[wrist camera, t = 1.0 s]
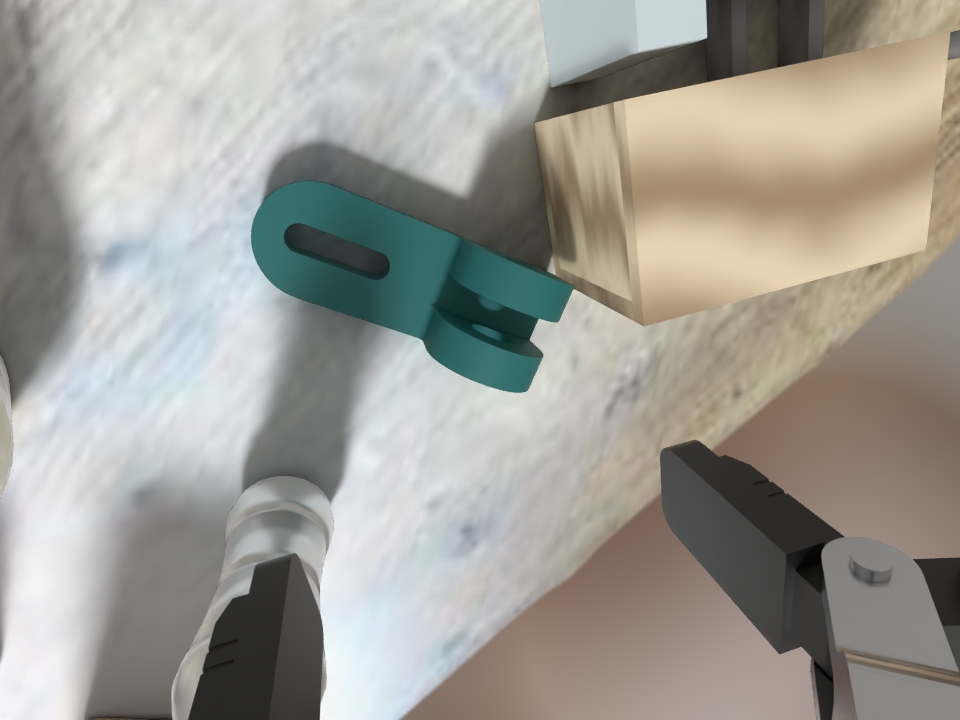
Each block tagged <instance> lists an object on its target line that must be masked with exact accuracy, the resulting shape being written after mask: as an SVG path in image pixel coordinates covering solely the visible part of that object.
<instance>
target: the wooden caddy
mask: <svg viewBox="0 0 960 720" xmlns="http://www.w3.org/2000/svg"><path fill="white" fill-rule="evenodd" d="M706 17H707V38H706V55H707V83H702V84H697V85H692V86H687V87H683V88H678V89H673V90H668V91H664V92H659V93H654V94H649V95H644V96H640V97H635V98H630V99H625V100H621V101H617V102H613V103H610V104H606V105H602V106H598V107H594V108H590V109H586V110H583V111H579V112H575V113H571V114H567V115H563V116H560V117H556V118H552V119H548V120H544V121H540V122H536V123H534V126H535V133H536V140H537V147H538V154H539V161H540V167H541V174H542V181H543V188H544V195H545V202H546V209H547V215H548V222H549V229H550V236H551V243H552V250H553V257H554V263H555V270H556V276H557V277H559V278H561V279H563V280H565V281H567V282H569V283H570V284H572V285H574V289H575V290H577V291H579V292H581V293H583V294H585V295H587V296H588V297H590V298H592V299H594V300H596V301H598V302H600V303H601V304H603V305H605V306H607V307H609V308H611V309H613V310H614V311H616V312H618V313H620V314H622V315H624V316H626V317H627V318H629V319H631V320H633V321H635V322H637V323H639V324H640V325H642V326H647V325H651V324H655V323H658V322H662V321H666V320H669V319H673V318H677V317H680V316H684V315H688V314H691V313H695V312H699V311H702V310H706V309H710V308H713V307H717V306H721V305H725V304H728V303H732V302H736V301H739V300H743V299H747V298H750V297H754V296H758V295H761V294H765V293H769V292H772V291H776V290H780V289H783V288H787V287H791V286H794V285H798V284H802V283H805V282H809V281H813V280H816V279H820V278H824V277H827V276H831V275H835V274H839V273H842V272H846V271H850V270H853V269H857V268H861V267H864V266H868V265H872V264H875V263H879V262H883V261H886V260H890V259H894V258H897V257H901V256H905V255H908V254H912V253H916V252H919V251H923V250H926V244H927V235H928V226H929V218H930V209H931V200H932V191H933V182H934V173H935V165H936V156H937V147H938V138H939V129H940V121H941V112H942V103H943V94H944V85H945V77H946V68H947V60H950V59H956V58H960V30H958V31H954V32H946V33H941V34H936V35H932V36H927V37H922V38H917V39H913V40H908V41H903V42H898V43H893V44H889V45H884V46H879V47H874V48H869V49H865V50H860V51H855V52H850V53H845V54H841V55H836V56H831V57H826V58H822V52H823V25H824V0H779V67H778V68H774V69H769V70H764V71H759V72H755V73H750V74H747V0H706Z"/></svg>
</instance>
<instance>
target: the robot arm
mask: <svg viewBox="0 0 960 720" xmlns="http://www.w3.org/2000/svg"><path fill="white" fill-rule="evenodd" d="M660 466H661V489H662V506H663V512H664V515H665V518H666V520H667V523H668V525H669V526H670V528H671V530H672V531H673V533H674V534H675V535H676V536H677V537H678V538H679V540H680V541H681V542H682V543H683V544H684V545H685V547H686V548H687V549H688V550H689V551H690V552H691V553H692V555H694V557H695V558H696V559H697V560H698V561H699V562H700V564H701V565H702V566H703V567H704V568H705V569H706V571H707V572H708V573H709V574H710V575H711V576H712V577H713V578H714V580H715V581H716V582H717V583H718V584H719V585H720V587H721V588H722V589H723V590H724V591H725V592H726V594H727V595H728V596H729V597H730V598H731V599H732V600H733V602H734V603H735V604H736V605H737V606H738V607H739V608H740V610H741V611H742V612H743V613H744V614H745V615H746V616H747V618H748V619H749V620H750V621H751V622H752V623H753V625H755V627H756V628H757V629H758V630H759V631H760V633H761V634H762V635H763V636H764V637H765V638H766V639H767V641H768V642H769V643H770V644H771V645H772V646H773V647H774V649H775V650H776V651H777V652H778V653H779V654H782V653H785V652H787V651H790V650H793V649H796V648H799V647H802V648H803V649H804V650H805V651H806V652H807V653H808V654H809V655H810V656H811V662H810V672H811V681H812V690H813V699H814V707H815V716H816V720H960V558H938V559H937V558H936V559H911V558H910V557H909V556H908V555H906V554H905V553H904V552H902V551H900V550H898V549H897V548H895V547H893V546H890V545H888V544H886V543H883V542H880V541H877V540H873V539H868V538H863V537H844V536H843V535H841V534H840V533H839V532H838V531H836V530H835V529H834V528H832V527H831V526H829V525H828V524H827V523H826V522H824V521H823V520H822V519H820V518H819V517H818V516H817V515H815V514H814V513H812V512H811V511H810V510H809V509H807V508H806V507H805V506H803V505H802V504H801V503H799V502H798V501H797V500H795V499H794V498H793V497H791V496H790V495H789V494H785V493H784V490H782V489H781V488H779V487H778V486H777V485H776V484H774V483H773V482H769V480H768V478H767V477H765V476H764V475H763V474H761V473H760V472H759V471H757V470H756V469H755V468H753V467H752V466H751V465H749V464H747V463H744V462H742V461H739V460H737V459H734V458H732V457H729V456H727V455H724V456H721V457H718V456H717V455H716V454H714V453H713V452H712V451H711V450H710V449H708V448H707V447H706V446H705V445H703V444H702V443H701V442H699V441H697V440H692V441H688V442H685V443H681V444H678V445H674V446H671V447H667V448H664V449H663V450H662V451H661V454H660ZM208 649H209V653H207V654H206V657H205V661H204V664H203V668H202V670H203V674H201V675H200V678H199V682H198V685H197V689H196V692H195V696H194V700H193V703H192V707H191V710H190V714H189V717H188V720H320V701H321V681H322V661H323V626H322V620H321V615H320V611H319V608H318V605H317V603H316V600H315V597H314V595H313V592H312V590H311V587H310V584H309V582H308V579H307V576H306V574H305V571H304V568H303V566H302V563H301V561H300V558H299V557H298V555H297V554H296V553H293V554H289V555H286V556H282V557H279V558H275V559H272V560H268V561H265V562H261V563H258V564H257V565H256V566H255V569H254V572H253V577H252V581H251V586H250V590H249V594H246V595H242V596H239V597H236V598H232V600H231V601H230V603H229V604H228V606H227V607H226V608H225V610H224V611H223V613H222V614H221V616H220V617H219V618H218V620H217V621H216V623H215V626H214V629H213V633H212V636H211V640H210V643H209V647H208Z"/></svg>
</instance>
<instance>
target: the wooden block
mask: <svg viewBox="0 0 960 720" xmlns="http://www.w3.org/2000/svg"><path fill="white" fill-rule="evenodd" d="M93 720H147V719H111V718H97V719H93Z"/></svg>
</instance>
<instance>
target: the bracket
mask: <svg viewBox="0 0 960 720" xmlns="http://www.w3.org/2000/svg"><path fill="white" fill-rule="evenodd" d="M294 223H302V224H305V225H308V226H310V227H313V228H316V229H318V230H321V231H324V232H326V233H329V234H332V235H334V236H337V237H340V238H342V239H345V240H348V241H350V242H353V243H356V244H358V245H361V246H364V247H366V248H369V249H372V250H374V251H377V252H380V253H382V254H384V255H385V256H386V257H387V258H388V265H387V267H386V269H385V270H384V271H383V272H381V273H379V274H370V273H368V272H365V271H362V270H359V269H357V268H354V267H351V266H348V265H345V264H343V263H340V262H337V261H334V260H331V259H329V258H326V257H323V256H320V255H318V254H315V253H312V252H309V251H306V250H304V249H301V248H298V247H296V246H294V245H293V244H292V243H291V242H290V240H289V238H288V229H289V227H290V225H292V224H294ZM251 243H252V249H253V253H254V257H255V259H256V262H257V264H258V266H259V267H260V269H261V271H262V272H263V274H264V275H265V276H266V277H267V279H268V280H269V281H270V282H271V283H272V284H273V285H275V286H276V287H277V288H278V289H280V290H281V291H283V292H285V293H287V294H289V295H291V296H293V297H296V298H299V299H302V300H305V301H308V302H311V303H314V304H317V305H320V306H323V307H326V308H329V309H332V310H335V311H338V312H341V313H344V314H347V315H350V316H353V317H356V318H359V319H362V320H365V321H368V322H371V323H374V324H377V325H381V326H384V327H387V328H390V329H393V330H396V331H399V332H402V333H405V334H408V335H411V336H414V337H417V338H419V339H421V340H422V341H423V342H424V345H425V347H426V349H427V351H428V353H429V354H430V355H431V356H432V357H433V358H434V359H435V360H436V361H438V362H439V363H441V364H442V365H444V366H445V367H447V368H448V369H450V370H452V371H454V372H456V373H458V374H460V375H462V376H464V377H466V378H468V379H470V380H473V381H475V382H478V383H480V384H483V385H486V386H489V387H492V388H496V389H499V390H503V391H508V392H516V393H522V392H526V391H528V389H529V387H530V385H531V382H532V380H533V378H534V376H535V374H536V371H537V369H538V367H539V365H540V362H541V360H542V358H543V353H542V352H541V351H540V350H539V349H538V348H537V347H536V346H535V345H534V344H533V343H532V342H531V341H530V337H531V335H532V333H533V330H534V328H535V326H536V324H537V321H538V319H542V320H546V321H550V322H559V320H560V318H561V315H562V313H563V311H564V309H565V306H566V304H567V302H568V300H569V297H570V295H571V293H572V291H573V288H574V285H572V284H570V283H569V282H567V281H565V280H563V279H561V278H559V277H557V276H555V275H553V274H551V273H549V272H547V271H545V270H543V269H540V268H538V267H535V266H533V265H530V264H528V263H525V262H523V261H520V260H518V259H515V258H513V257H511V256H508V255H506V254H503V253H501V252H498V251H496V250H493V249H491V248H488V247H486V246H483V245H481V244H478V243H476V242H473V241H471V240H468V239H466V238H463V237H461V236H459V235H456V234H454V233H451V232H449V231H446V230H444V229H441V228H439V227H436V226H434V225H431V224H429V223H426V222H424V221H421V220H419V219H416V218H414V217H412V216H409V215H407V214H404V213H402V212H399V211H397V210H394V209H392V208H389V207H387V206H384V205H382V204H379V203H377V202H374V201H372V200H369V199H367V198H365V197H362V196H360V195H357V194H355V193H352V192H350V191H347V190H345V189H342V188H340V187H337V186H335V185H332V184H329V183H326V182H321V181H301V182H297V183H292V184H289V185H286V186H284V187H282V188H280V189H278V190H276V191H275V192H273V193H272V194H271V195H270V196H269V197H268V198H267V199H266V200H265V201H264V202H263V203H262V205H261V206H260V208H259V209H258V211H257V213H256V215H255V218H254V221H253V225H252V231H251Z"/></svg>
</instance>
